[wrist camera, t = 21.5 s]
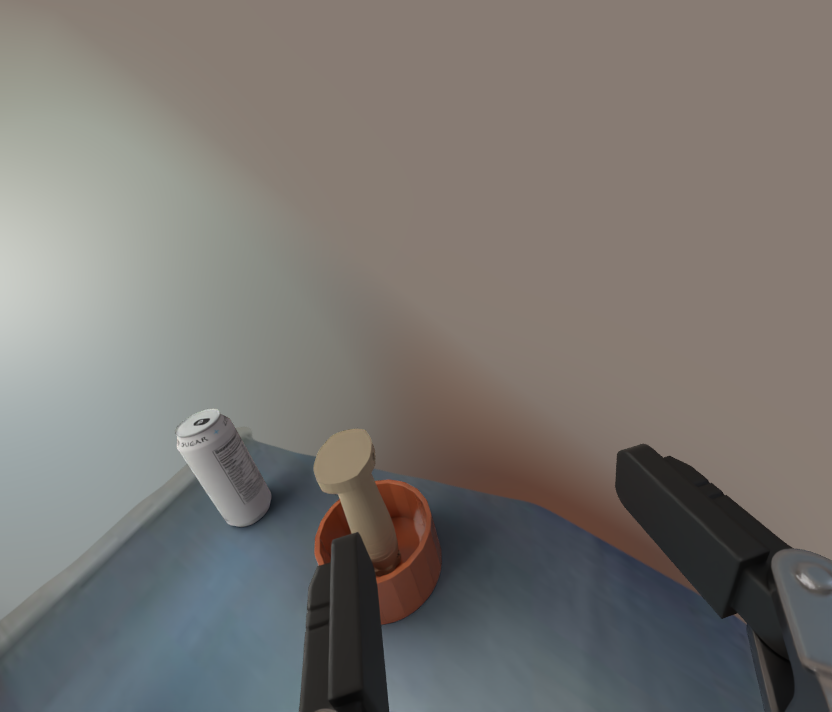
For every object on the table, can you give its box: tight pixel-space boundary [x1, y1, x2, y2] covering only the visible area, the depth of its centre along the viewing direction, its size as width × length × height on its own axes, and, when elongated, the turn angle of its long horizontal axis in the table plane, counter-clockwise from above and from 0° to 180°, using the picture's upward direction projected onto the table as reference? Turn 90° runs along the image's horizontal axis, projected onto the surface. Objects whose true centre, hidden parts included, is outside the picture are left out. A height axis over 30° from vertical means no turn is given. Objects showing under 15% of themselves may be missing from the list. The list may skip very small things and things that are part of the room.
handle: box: [314, 429, 401, 577], centre depth 34 cm, size 5×6×15 cm
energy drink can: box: [175, 409, 271, 527], centre depth 45 cm, size 6×6×15 cm
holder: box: [315, 480, 442, 625], centre depth 37 cm, size 11×11×6 cm
